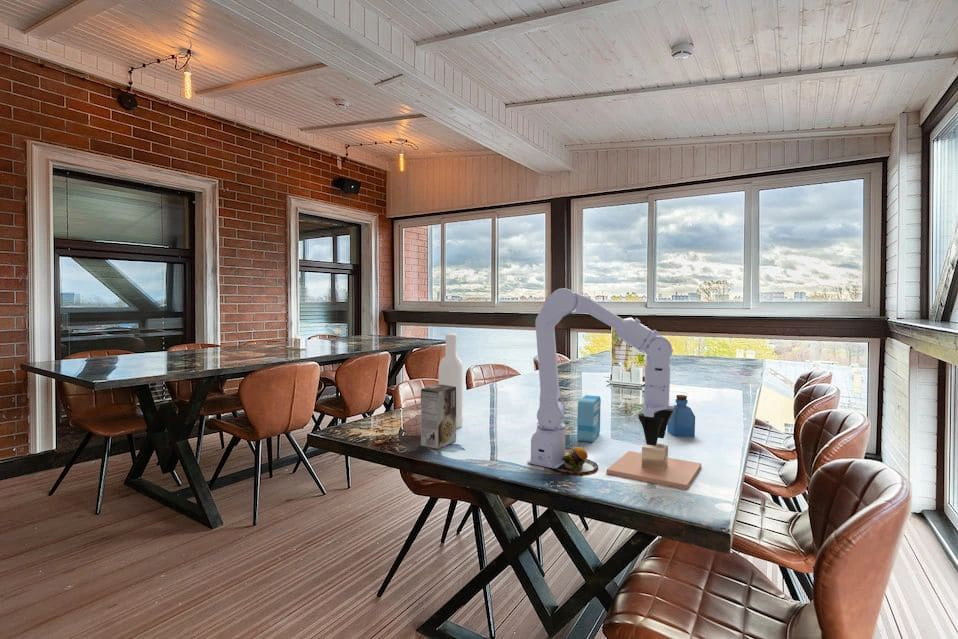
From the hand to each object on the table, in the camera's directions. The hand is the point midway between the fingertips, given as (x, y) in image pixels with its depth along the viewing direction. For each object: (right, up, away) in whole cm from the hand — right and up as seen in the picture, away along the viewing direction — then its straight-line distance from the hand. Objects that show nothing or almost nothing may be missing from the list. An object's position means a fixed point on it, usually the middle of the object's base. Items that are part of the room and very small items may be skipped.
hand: (655, 441), depth 122 cm
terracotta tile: (0, -7, 0) cm, 7 cm away
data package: (-10, -6, +29) cm, 31 cm away
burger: (-19, -8, +2) cm, 21 cm away
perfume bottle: (+20, -6, +35) cm, 41 cm away
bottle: (-52, -5, +41) cm, 67 cm away
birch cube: (0, -6, 0) cm, 6 cm away
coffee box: (-54, -6, +21) cm, 59 cm away
